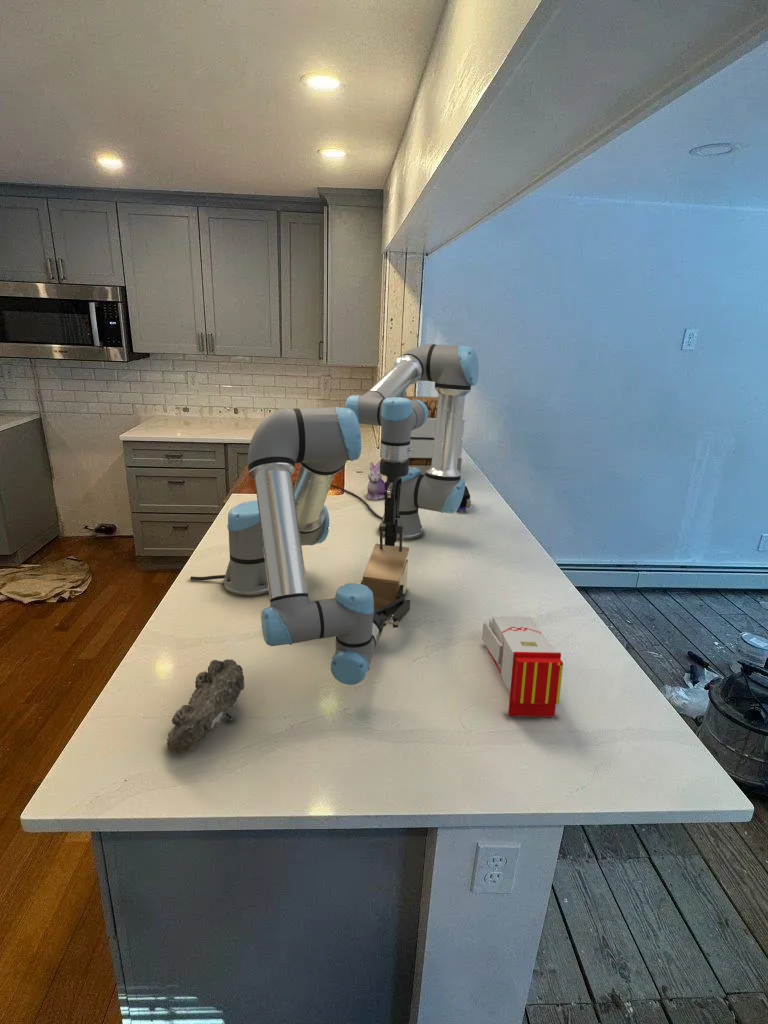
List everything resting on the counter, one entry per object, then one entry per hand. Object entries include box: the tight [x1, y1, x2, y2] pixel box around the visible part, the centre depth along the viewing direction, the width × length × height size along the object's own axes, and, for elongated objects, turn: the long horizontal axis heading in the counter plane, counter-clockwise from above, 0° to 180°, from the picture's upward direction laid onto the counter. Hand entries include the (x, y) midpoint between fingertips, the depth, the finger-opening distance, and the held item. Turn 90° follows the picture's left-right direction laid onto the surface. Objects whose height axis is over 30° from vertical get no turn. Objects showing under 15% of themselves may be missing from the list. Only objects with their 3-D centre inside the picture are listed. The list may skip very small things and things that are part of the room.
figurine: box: [366, 460, 386, 501], centre depth 235 cm, size 9×10×15 cm
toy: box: [481, 615, 564, 718], centre depth 123 cm, size 12×13×30 cm
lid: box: [362, 523, 410, 584], centre depth 149 cm, size 16×10×8 cm, turn 169°
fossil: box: [166, 658, 245, 754], centre depth 106 cm, size 22×10×15 cm
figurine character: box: [456, 485, 472, 513], centre depth 228 cm, size 7×8×15 cm
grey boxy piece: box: [399, 389, 465, 475], centre depth 268 cm, size 34×33×41 cm
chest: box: [362, 558, 409, 617], centre depth 152 cm, size 16×10×9 cm, turn 169°
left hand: (382, 587), depth 148 cm, fingers closed on chest, 9 cm apart
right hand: (390, 543), depth 154 cm, fingers closed on lid, 2 cm apart
